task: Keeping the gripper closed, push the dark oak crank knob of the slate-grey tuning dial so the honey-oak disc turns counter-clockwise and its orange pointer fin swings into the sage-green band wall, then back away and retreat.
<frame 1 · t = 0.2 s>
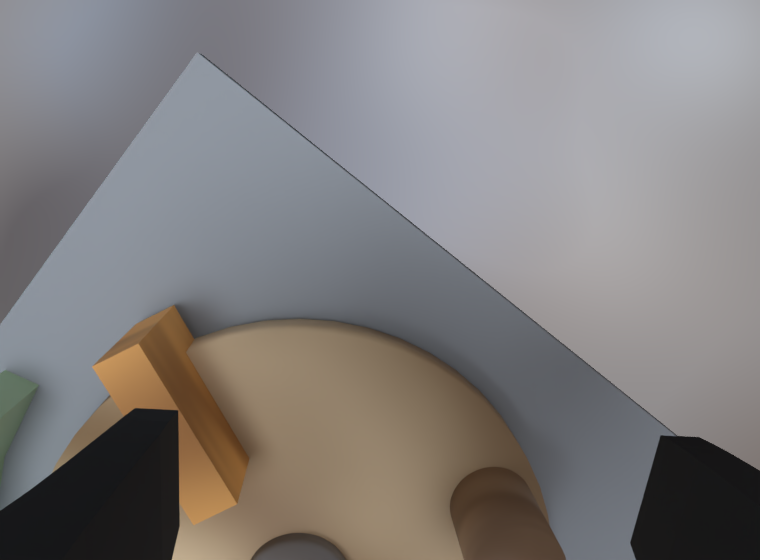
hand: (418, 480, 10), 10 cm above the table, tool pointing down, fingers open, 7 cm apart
grey flat square board: (301, 532, 22), on the table
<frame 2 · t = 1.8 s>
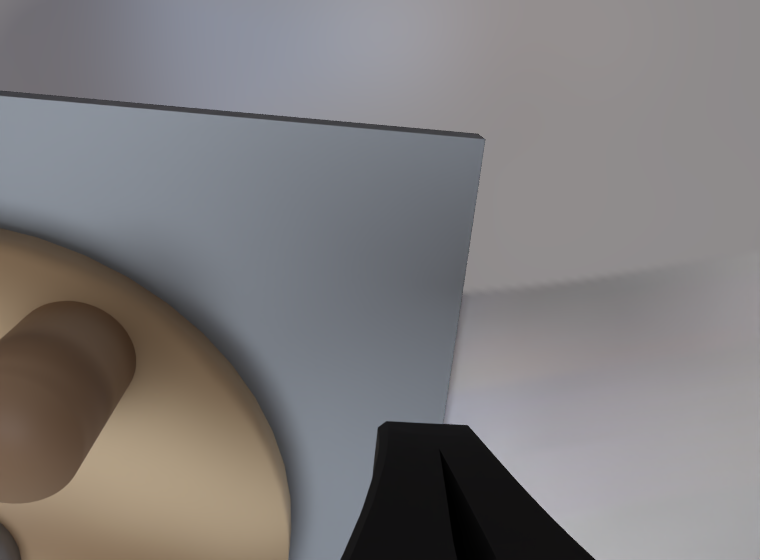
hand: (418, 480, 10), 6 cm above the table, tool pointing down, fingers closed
grey flat square board: (0, 489, 17), on the table
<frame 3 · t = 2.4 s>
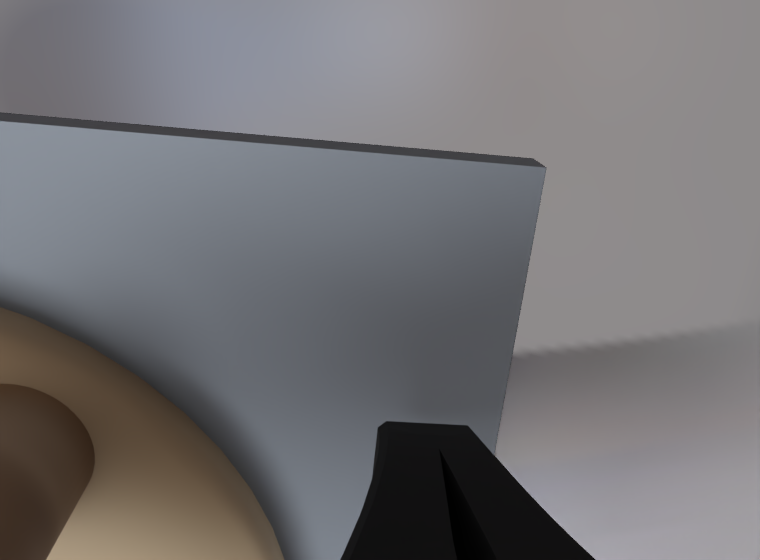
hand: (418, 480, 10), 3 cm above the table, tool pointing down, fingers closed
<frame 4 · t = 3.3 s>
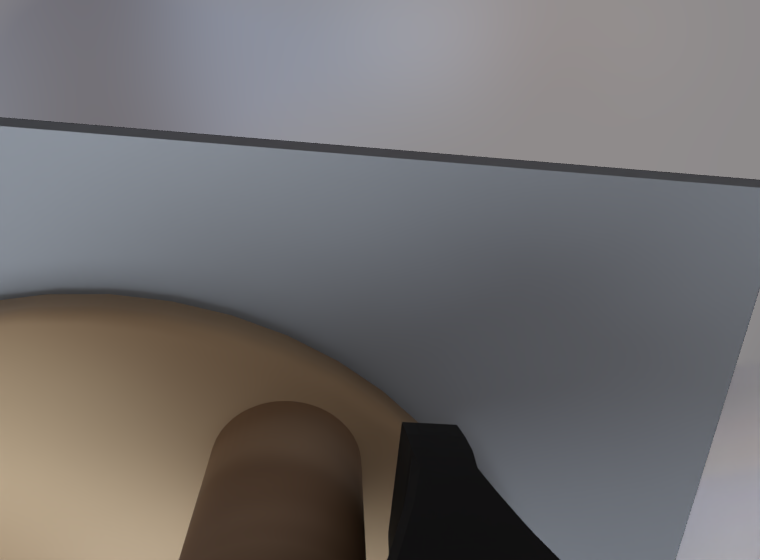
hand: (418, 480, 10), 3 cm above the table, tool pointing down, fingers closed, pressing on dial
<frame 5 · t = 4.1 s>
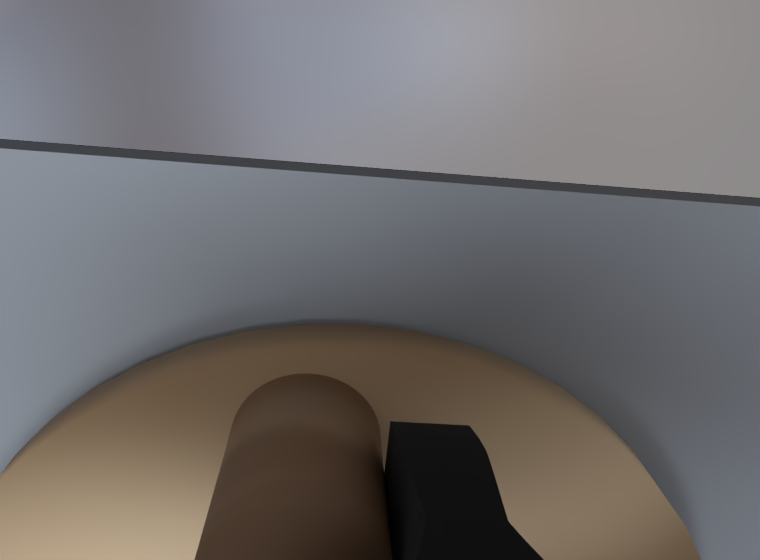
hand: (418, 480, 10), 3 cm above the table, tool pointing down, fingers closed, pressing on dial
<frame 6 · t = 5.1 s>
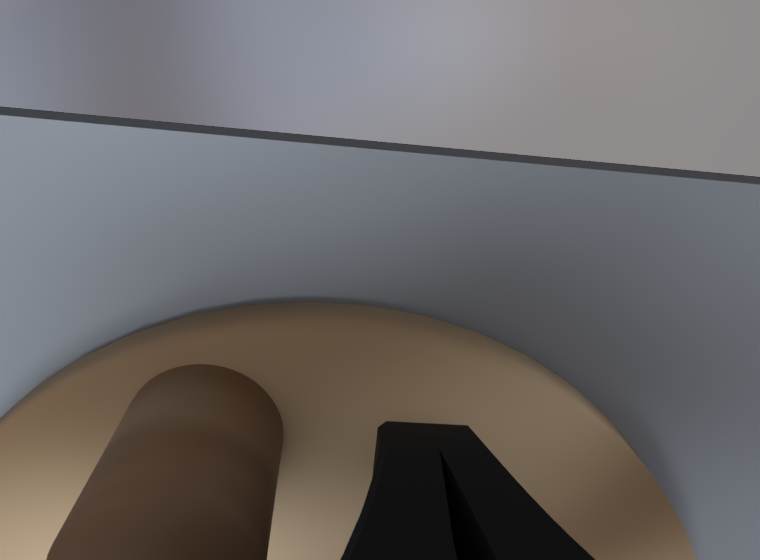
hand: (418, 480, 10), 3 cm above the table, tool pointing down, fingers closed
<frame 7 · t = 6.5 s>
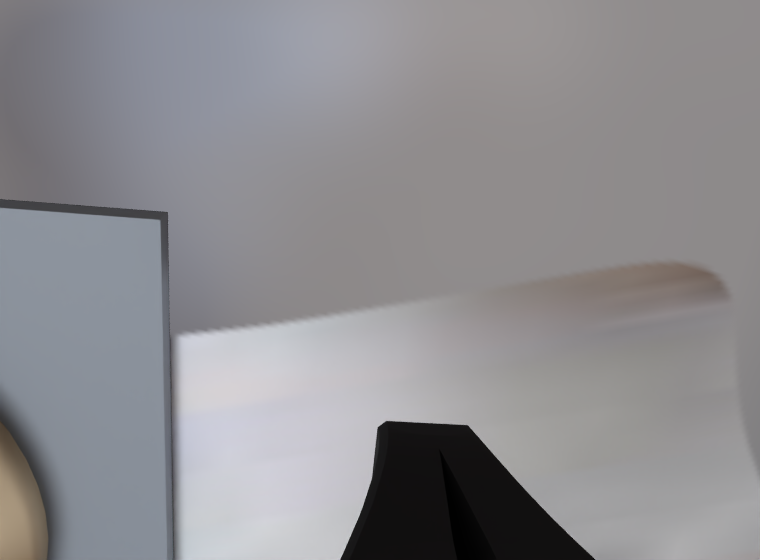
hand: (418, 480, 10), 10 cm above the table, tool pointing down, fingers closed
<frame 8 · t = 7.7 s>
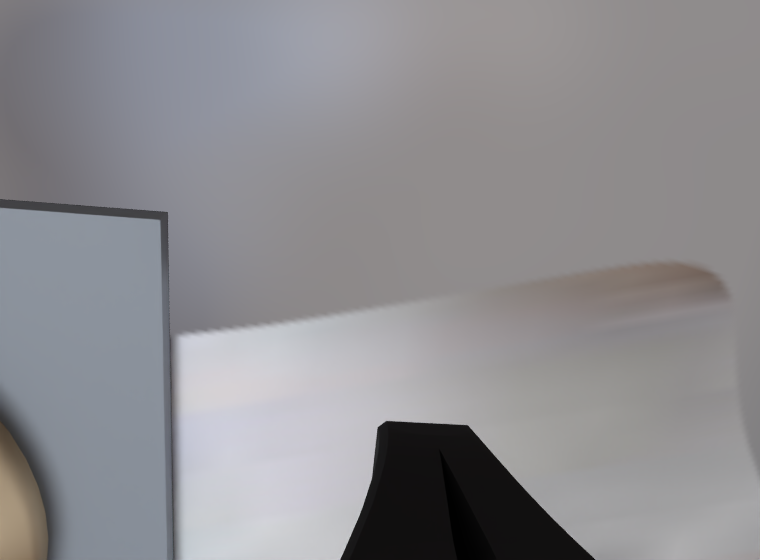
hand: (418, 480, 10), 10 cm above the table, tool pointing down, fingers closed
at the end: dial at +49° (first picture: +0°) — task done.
